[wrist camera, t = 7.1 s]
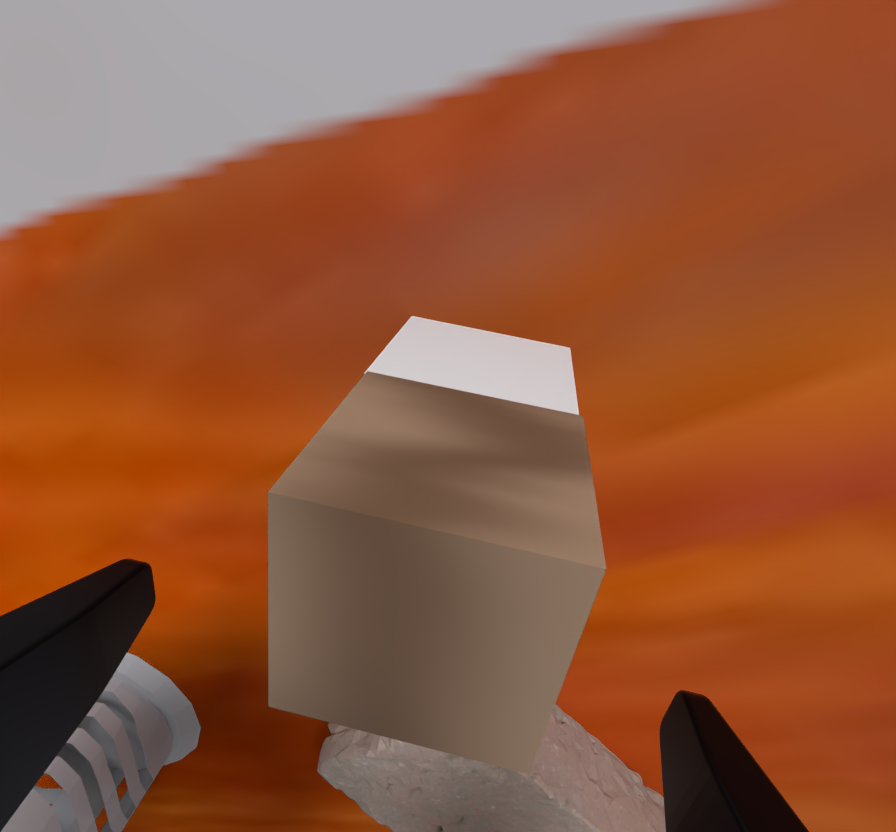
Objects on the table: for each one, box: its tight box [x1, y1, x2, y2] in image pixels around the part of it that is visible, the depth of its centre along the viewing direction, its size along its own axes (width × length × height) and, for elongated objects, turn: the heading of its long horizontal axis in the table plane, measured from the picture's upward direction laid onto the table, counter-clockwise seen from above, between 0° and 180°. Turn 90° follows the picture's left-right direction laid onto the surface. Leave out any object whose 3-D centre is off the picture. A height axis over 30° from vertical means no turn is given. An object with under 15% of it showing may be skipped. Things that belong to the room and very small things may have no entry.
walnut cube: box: [268, 371, 606, 774], centre depth 11 cm, size 5×5×5 cm
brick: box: [317, 704, 666, 832], centre depth 24 cm, size 16×8×5 cm, turn 44°
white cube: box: [364, 316, 579, 415], centre depth 16 cm, size 5×5×5 cm
